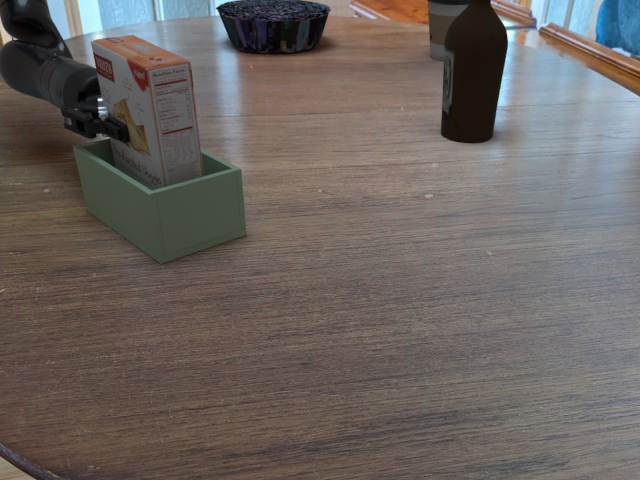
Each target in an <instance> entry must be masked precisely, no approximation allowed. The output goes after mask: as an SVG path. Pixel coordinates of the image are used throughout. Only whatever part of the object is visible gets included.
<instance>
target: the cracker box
mask: <svg viewBox="0 0 640 480" xmlns="http://www.w3.org/2000/svg"><path fill="white" fill-rule="evenodd" d="M90 46H91V50H92V55H93V60H94V65H95V66H94V67H95V68H96V70H97V76H98V81H99V86H100V90H101V95H102V101H103V105H104V106H105V107H106V109H107V111H108V112H109V117H110V118H112V117H114V118H115V119H117V120H119V121H121V122H123V123H125V124H126V125H127V127H128V131H129V136H130V142H128V143H122V142H121V141H118V140H115V139H113V138H112V137H109V139H110V141H111V146H112V151H113V156H114V161H115V166H116V169H118V170H119V171H121V172H123V173H124V174H126V175H127V176H129V177H131V178H132V179H134V180H136V181H137V182H139V183H140V184H142V185H144V186H145V187H147V188H148V189H150V190H156V189H160V188H163V187H167V186H171V185H174V184H178V183H182V182H185V181H189V180H193V179H196V178H200V177H203V176H204V171H203V163H202V154H201V149H202V146H201V138H200V130H199V121H198V113H197V106H196V105H197V104H196V96H195V88H194V80H193V71H192V64H191V61H190V59H187V58H185V57H184V56H183V57H182V56H180V55H178V54H177V53H176V54H175V53H173V52H171V51H169V50H166V49H165V48H162V47H161V46H158V45H156V44H154V43H151V42H150V41H147V40H145V39H143V38H140V37H138V36H136V35H134V34H129V35H128V34H127V35H122V36H115V37H105V38H98V39H94V40H91V41H90Z"/></svg>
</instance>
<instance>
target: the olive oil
mask: <svg viewBox="0 0 640 480" xmlns="http://www.w3.org/2000/svg"><path fill="white" fill-rule="evenodd" d="M508 48H509V37H508V31H507V29H506V26H505V24H504V23H503V21H502V20H501V18H500V17H499V15H498V14H497V13H496V11H495V9H494V7H493V6H492V0H471V1H470V4H469V5H468V6H467V7H466V8H465V9H464V10H463V11H462V12H461V14H460V15H459V16H458V17H457V18H456V19H455V20H454V21H453V22H452V23H451V25H450V26H449V28H448V31H447V34H446V37H445V43H444V61H443V70H442V72H443V73H442V95H441V97H442V99H441V119H440V121H441V122H440V134H441V135H442V136H443V137H444V138H447V139H449V140H452V141H455V142H461V143H483V142H486V141H489V140H490V139H492V137H493V135H494V130H495V123H496V117H497V110H498V104H499V98H500V92H501V87H502V82H503V77H504V76H503V75H504V70H505V65H506V59H507V55H508V54H507V53H508Z"/></svg>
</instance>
